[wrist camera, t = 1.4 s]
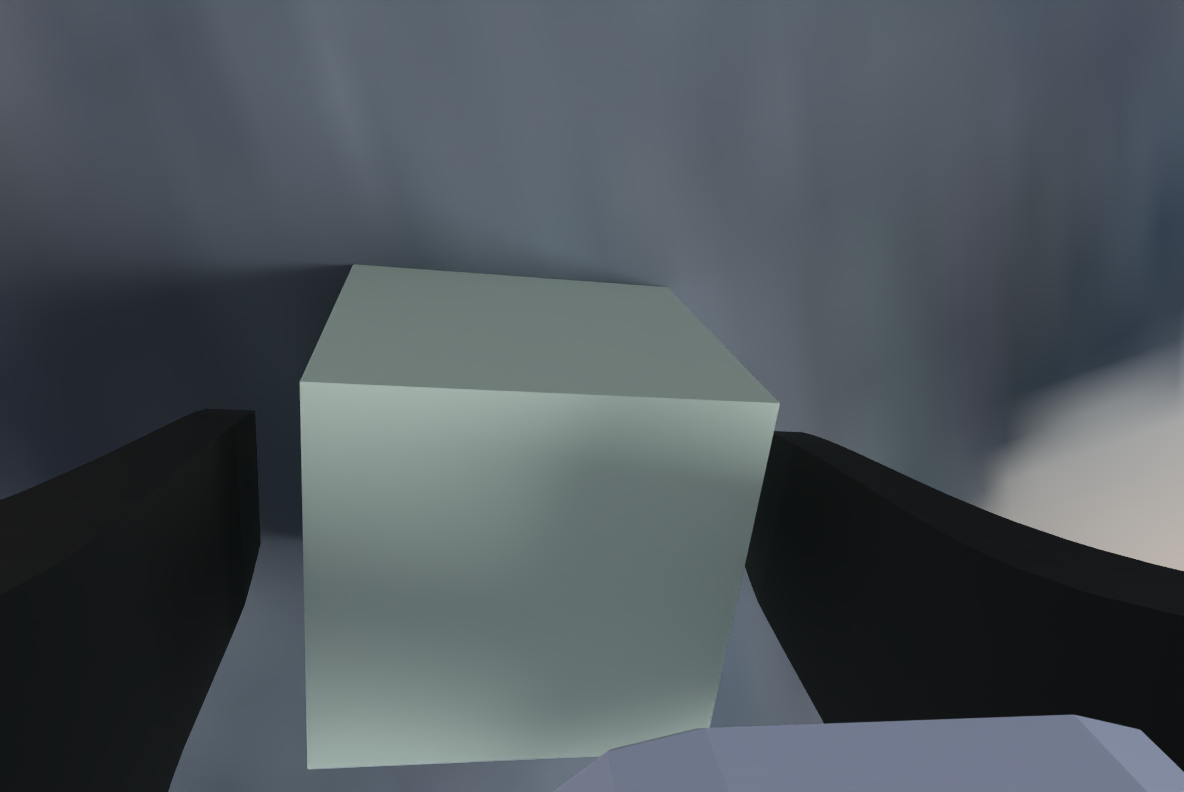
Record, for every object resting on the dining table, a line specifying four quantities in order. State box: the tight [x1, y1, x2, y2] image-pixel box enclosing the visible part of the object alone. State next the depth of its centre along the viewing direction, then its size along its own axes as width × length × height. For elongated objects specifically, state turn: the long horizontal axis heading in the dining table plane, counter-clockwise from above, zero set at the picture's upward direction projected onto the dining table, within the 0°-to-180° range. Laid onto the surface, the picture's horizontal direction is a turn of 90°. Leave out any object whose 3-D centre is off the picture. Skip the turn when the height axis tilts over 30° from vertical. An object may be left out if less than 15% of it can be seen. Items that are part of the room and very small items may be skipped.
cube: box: [300, 264, 780, 769], centre depth 12 cm, size 5×5×5 cm
